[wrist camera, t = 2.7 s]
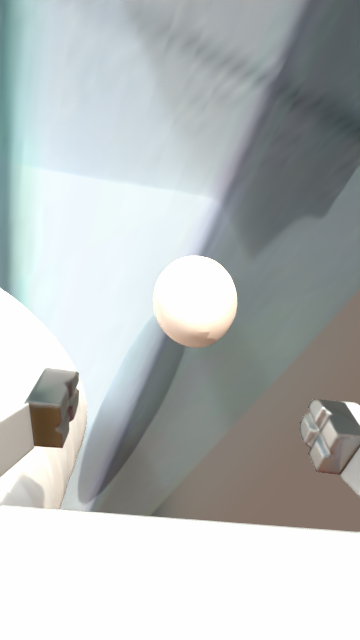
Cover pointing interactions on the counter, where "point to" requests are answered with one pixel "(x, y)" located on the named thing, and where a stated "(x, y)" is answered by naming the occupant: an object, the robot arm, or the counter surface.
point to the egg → (195, 301)
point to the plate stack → (3, 374)
